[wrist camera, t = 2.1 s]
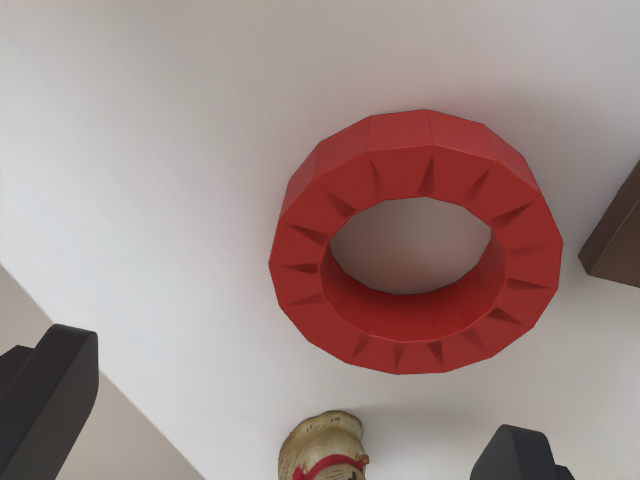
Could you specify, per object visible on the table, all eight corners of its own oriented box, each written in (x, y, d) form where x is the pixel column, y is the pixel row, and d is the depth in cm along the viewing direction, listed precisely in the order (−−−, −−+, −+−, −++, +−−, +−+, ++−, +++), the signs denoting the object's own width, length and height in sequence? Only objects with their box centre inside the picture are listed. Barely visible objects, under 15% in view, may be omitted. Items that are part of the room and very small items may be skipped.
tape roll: (262, 295, 29) (249, 341, 26) (313, 78, 22) (304, 109, 19) (478, 346, 30) (488, 397, 27) (591, 152, 23) (621, 192, 20)
